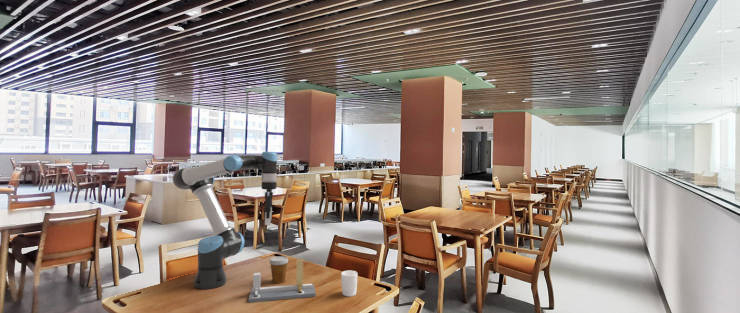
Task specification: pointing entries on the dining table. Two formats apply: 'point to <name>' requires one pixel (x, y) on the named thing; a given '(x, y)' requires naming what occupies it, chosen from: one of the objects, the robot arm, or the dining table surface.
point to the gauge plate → (278, 291)
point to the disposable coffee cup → (278, 268)
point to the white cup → (349, 282)
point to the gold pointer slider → (299, 273)
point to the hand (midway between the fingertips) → (268, 222)
